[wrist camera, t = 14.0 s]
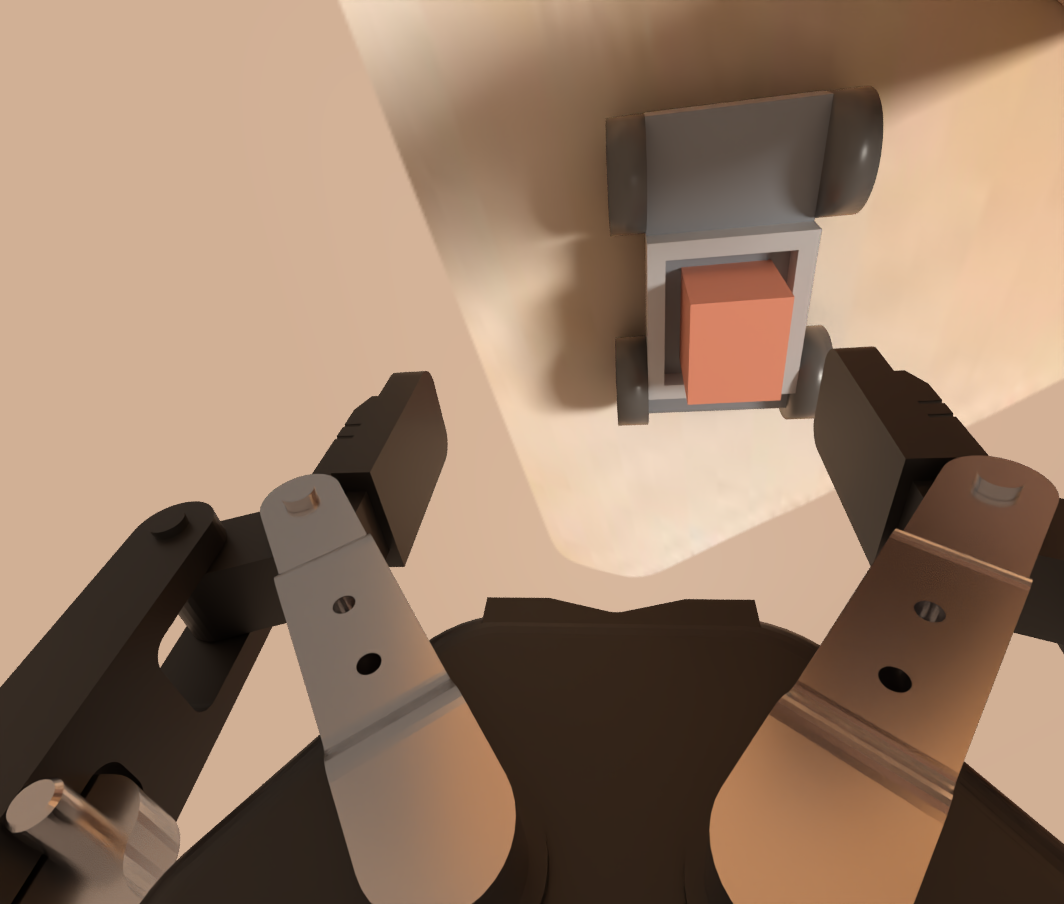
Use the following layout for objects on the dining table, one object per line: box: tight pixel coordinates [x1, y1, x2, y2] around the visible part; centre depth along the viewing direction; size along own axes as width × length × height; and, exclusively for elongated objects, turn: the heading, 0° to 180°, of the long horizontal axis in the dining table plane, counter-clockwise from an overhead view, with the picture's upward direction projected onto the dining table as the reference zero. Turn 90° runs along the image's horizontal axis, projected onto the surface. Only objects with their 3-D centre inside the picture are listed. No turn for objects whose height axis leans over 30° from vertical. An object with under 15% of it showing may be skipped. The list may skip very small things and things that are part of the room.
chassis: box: [606, 86, 883, 426], centre depth 36 cm, size 13×19×6 cm
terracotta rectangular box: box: [679, 260, 794, 405], centre depth 34 cm, size 5×6×6 cm
